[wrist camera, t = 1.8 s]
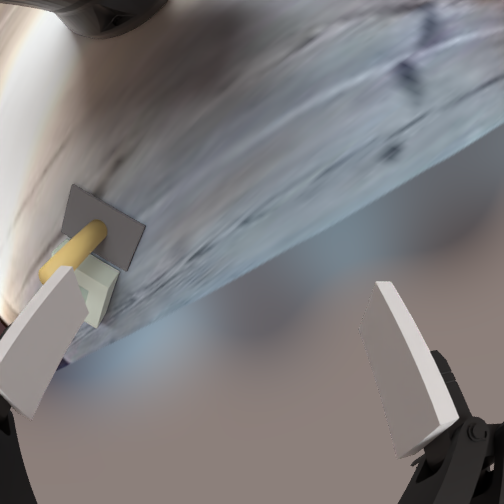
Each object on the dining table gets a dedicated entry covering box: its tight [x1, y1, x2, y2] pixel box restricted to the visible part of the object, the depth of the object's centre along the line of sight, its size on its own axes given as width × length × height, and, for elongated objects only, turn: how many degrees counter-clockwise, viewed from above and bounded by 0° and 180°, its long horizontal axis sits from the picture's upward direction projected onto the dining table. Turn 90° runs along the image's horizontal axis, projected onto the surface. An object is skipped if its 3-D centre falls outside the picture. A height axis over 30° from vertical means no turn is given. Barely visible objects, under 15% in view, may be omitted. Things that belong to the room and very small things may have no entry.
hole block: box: [51, 239, 120, 329], centre depth 36 cm, size 10×10×4 cm
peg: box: [39, 219, 107, 285], centre depth 28 cm, size 3×3×12 cm
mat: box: [61, 184, 145, 271], centre depth 33 cm, size 12×8×1 cm, turn 58°
